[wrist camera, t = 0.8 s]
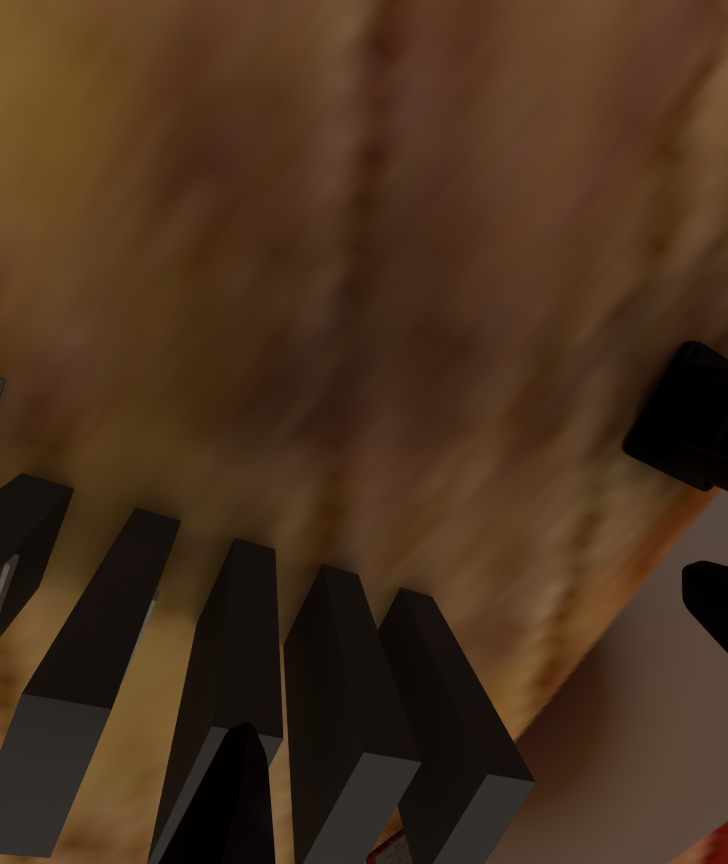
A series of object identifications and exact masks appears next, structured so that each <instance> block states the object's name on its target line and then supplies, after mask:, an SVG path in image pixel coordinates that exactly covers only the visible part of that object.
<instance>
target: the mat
mask: <svg viewBox="0 0 728 864" xmlns="http://www.w3.org/2000/svg"><path fill="white" fill-rule="evenodd" d="M4 382H5V381H4V380H1V379H0V395H1V391H2V388H3V385H4Z"/></svg>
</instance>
